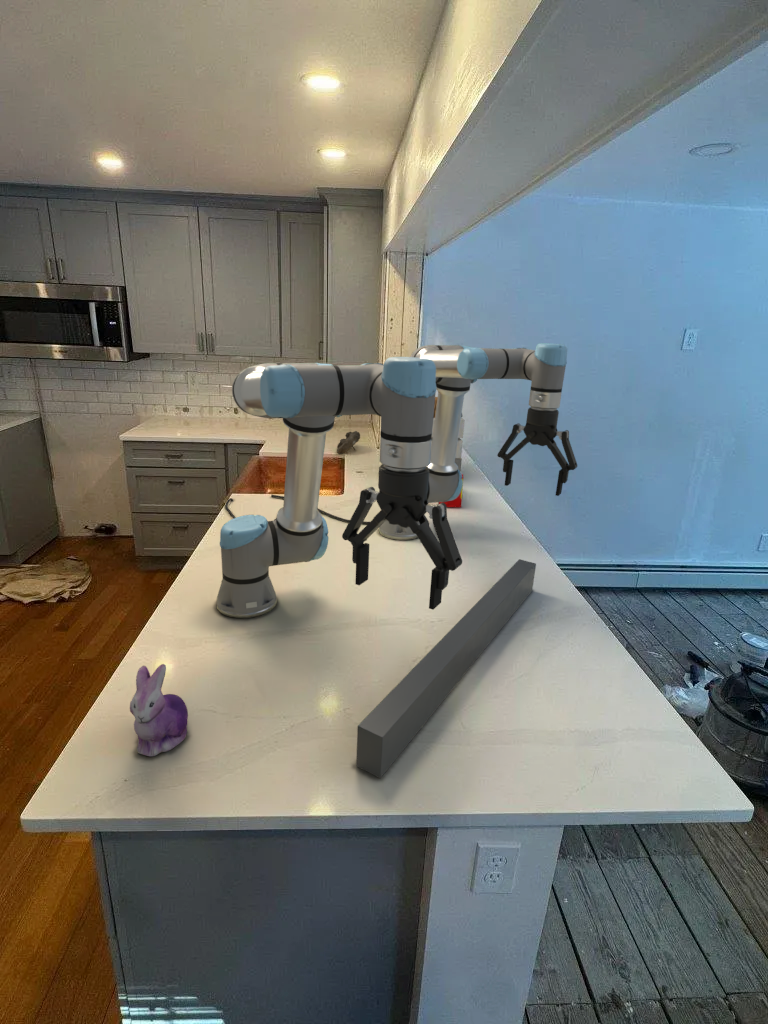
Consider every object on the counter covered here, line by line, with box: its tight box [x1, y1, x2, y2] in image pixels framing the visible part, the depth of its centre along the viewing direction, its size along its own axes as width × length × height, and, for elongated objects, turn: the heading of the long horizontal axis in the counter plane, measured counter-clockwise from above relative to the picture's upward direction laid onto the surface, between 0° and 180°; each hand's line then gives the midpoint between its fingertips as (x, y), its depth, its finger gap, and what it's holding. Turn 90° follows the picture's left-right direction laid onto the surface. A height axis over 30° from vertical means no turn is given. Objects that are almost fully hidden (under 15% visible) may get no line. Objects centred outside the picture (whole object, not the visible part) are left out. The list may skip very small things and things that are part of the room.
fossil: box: [336, 430, 361, 454], centre depth 311 cm, size 22×10×15 cm
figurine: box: [129, 663, 189, 757], centre depth 99 cm, size 9×10×15 cm
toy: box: [438, 473, 464, 508], centre depth 240 cm, size 12×13×30 cm
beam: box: [355, 559, 537, 779], centre depth 129 cm, size 83×5×9 cm, turn 149°
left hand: (397, 593), depth 91 cm, fingers open, 13 cm apart
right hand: (532, 489), depth 149 cm, fingers open, 13 cm apart
